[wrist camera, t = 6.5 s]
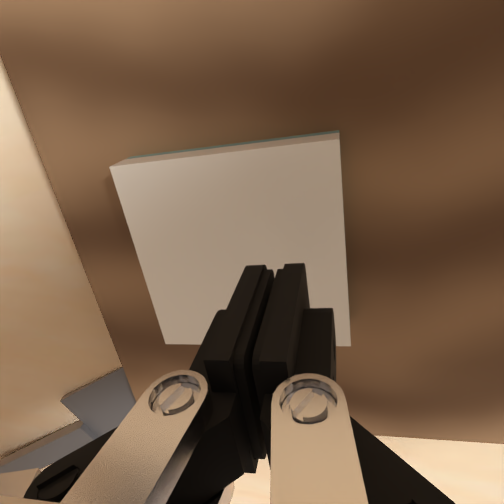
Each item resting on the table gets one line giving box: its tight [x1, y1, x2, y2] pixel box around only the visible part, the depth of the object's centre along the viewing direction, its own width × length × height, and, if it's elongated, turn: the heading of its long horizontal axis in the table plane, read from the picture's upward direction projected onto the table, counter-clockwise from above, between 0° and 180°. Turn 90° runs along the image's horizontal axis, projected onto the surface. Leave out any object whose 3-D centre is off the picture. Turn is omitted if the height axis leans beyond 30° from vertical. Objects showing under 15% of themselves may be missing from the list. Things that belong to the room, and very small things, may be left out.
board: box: [0, 0, 504, 444], centre depth 16 cm, size 22×20×2 cm
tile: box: [109, 130, 351, 346], centre depth 15 cm, size 8×2×8 cm
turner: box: [0, 367, 137, 474], centre depth 27 cm, size 6×20×1 cm, turn 126°
